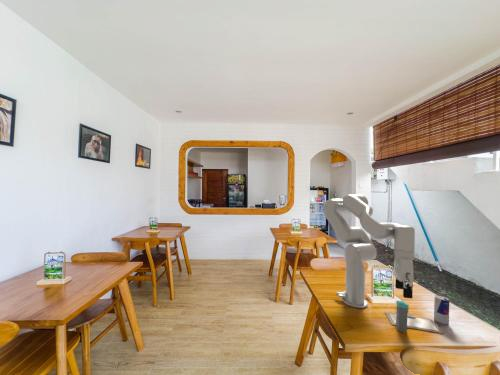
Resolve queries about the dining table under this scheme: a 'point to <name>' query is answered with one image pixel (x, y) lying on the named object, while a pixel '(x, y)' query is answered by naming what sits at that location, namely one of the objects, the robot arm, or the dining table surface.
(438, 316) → the energy drink
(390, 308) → the dining table surface
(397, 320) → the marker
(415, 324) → the clipboard
